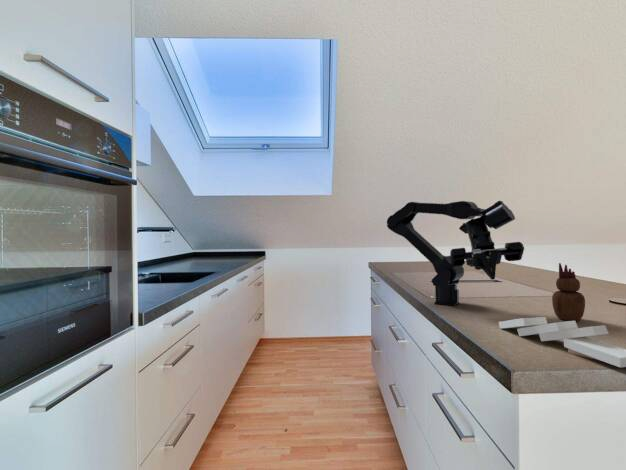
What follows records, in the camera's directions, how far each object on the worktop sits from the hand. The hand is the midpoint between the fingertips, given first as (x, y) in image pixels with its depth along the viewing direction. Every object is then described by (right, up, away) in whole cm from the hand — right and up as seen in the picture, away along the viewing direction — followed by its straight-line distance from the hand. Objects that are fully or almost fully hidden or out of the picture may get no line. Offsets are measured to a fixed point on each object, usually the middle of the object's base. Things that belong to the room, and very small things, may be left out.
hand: (493, 278), depth 89 cm
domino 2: (0, -10, -14) cm, 18 cm away
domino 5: (+3, -9, -24) cm, 26 cm away
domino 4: (+3, -11, -24) cm, 26 cm away
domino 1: (-1, -10, -9) cm, 13 cm away
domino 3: (+1, -10, -19) cm, 21 cm away
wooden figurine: (+18, -11, -3) cm, 21 cm away
